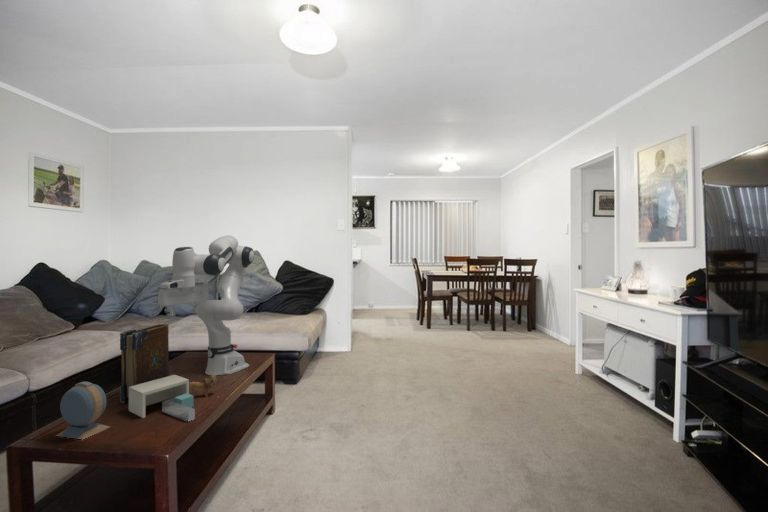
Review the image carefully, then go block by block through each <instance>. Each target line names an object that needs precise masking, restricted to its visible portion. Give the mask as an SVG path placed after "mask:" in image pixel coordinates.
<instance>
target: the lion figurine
mask: <svg viewBox="0 0 768 512" xmlns="http://www.w3.org/2000/svg"><path fill="white" fill-rule="evenodd" d="M217 381H218V379H217V375H208V376H207V377H206V378H204V379H203V380H202V381H189V394H190V395H192V392H193V390H195V391H204V397H205V398H208V397H209V393H208V390H211V389H212V388H213V387H214V386H215V385H216V384H217Z"/></svg>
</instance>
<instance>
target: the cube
mask: <svg viewBox="0 0 768 512" xmlns="http://www.w3.org/2000/svg"><path fill="white" fill-rule="evenodd" d="M194 398H195V397H194V394H191V395H190V394H187V393H186V394H183V395H180V396H177V397H175V402H176V403H179V404H182V405H185V406H188V407H190V408H192V407H193V408H194V406H195V405H194V401H195V400H194Z"/></svg>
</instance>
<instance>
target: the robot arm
mask: <svg viewBox="0 0 768 512" xmlns="http://www.w3.org/2000/svg"><path fill="white" fill-rule="evenodd" d="M254 260H255V251H254V248H252V247H250V246H246V245H245V246H243V245H239V241H238V240H237V238H236V237H235V236H233V235H224V236H223V235H222V236H220V237H218V238H216V239H215V240H213V241H212V242H210V244H209V245H208V254H199V253H196V252H195V251H194V247H191V246H181V247H176V248H175V249H174V250H173V254H172V266H171V267H172V270H173V271H172V277H171V278H172V279H170V280H167V281H164V282H162V283H160V284H159V287H160V289H159V291H158V295H157V304H158V306H160V307H167V310H168V311H169V316H171V317H173V316H176V313H177V312H176V311H175V310H173V309H174V306H179V305H188V304H189V305H190V304H193V305H194V306H193V308H191V313H192V314H196V315H197V316H196V317H198V318H199V319H200V320H201V321H202V322H203V323H204V325H205V327H206V330H207V336H208V346H207V363H206V369H205V374H206V375H208V376H210V375H215V376H223V375H231V374H235V373H237V372H239V371H242V370H244V369H247V368H249V367H250V364H249V363H247V362H246V361H245V358H244V356H243V354H241V353H239V352H238V351H236V350H235V349H238V344H232V331H231V329H230V328H229V327H228V326H226V325H225V324H224V321H234V320H239V319H240V318H241V317H242V316H243V314H244V306H243V305H244V304H242V302H241V301H240V300H239V292H240V289H241V287H242V283H243V280H244V277H245V270H246V269H247V268H248V267H249V266H250V265H251V264H252V263H253V261H254ZM227 264H228V266H227V267H226V265H227ZM225 267H226V269H225ZM224 269H225V270H224ZM223 271H224V273H223V275H222V277H221V278H220V282H219V284H218V286H217V291H218V293H219V294H220V295H221V296H222V297H221V299H208V292H207V283H205V282H204V281H201V282H200V281H199V282H198V281H196V276H214V277H215V276H219V275H220V274H221V273H222V272H223Z"/></svg>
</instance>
